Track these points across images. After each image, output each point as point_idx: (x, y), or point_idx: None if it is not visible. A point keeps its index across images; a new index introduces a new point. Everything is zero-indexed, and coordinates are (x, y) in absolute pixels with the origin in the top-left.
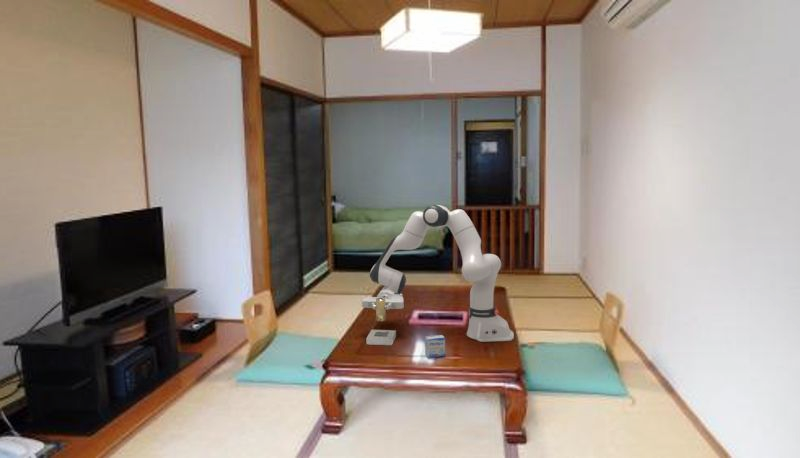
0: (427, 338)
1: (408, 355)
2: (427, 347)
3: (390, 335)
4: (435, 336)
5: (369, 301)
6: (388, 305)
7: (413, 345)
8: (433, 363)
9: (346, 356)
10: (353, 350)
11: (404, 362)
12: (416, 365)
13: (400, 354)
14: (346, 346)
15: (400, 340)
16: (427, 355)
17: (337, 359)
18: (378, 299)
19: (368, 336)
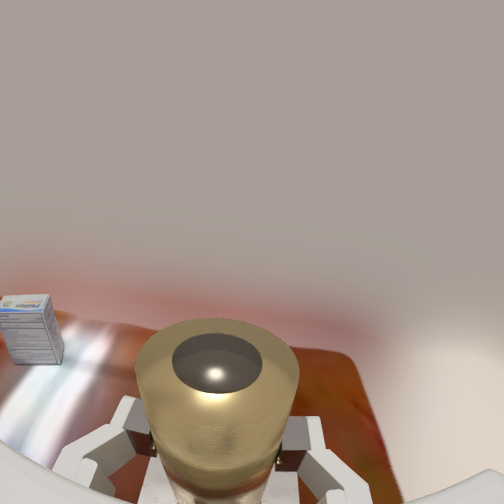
0: (46, 298)
1: (110, 372)
2: (55, 322)
3: (157, 498)
4: (18, 303)
5: (423, 497)
6: (109, 427)
7: (65, 442)
8: (67, 323)
9: (324, 374)
10: (323, 416)
11: (135, 337)
12: (110, 322)
13: (134, 382)
14: (368, 443)
15: None
16: (62, 344)
17: (340, 356)
18: (246, 342)
19: (291, 486)
